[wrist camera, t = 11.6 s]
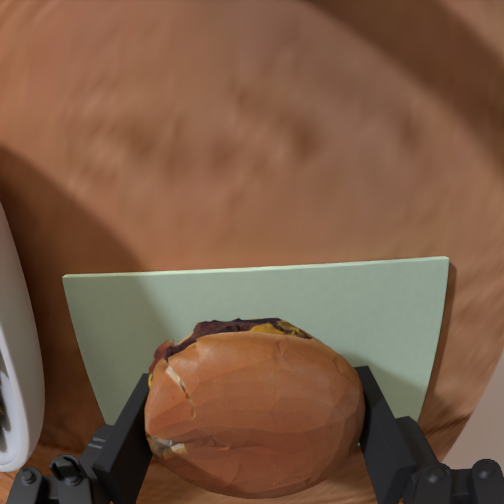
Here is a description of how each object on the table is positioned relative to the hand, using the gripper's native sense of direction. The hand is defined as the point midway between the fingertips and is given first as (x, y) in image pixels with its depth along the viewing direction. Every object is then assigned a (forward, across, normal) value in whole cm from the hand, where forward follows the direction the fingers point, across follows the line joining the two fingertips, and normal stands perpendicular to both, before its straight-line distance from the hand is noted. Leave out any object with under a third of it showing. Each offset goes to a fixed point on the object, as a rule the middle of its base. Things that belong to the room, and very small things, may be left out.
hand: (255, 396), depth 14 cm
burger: (0, 0, 0) cm, 0 cm away
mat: (+2, 0, 0) cm, 2 cm away
